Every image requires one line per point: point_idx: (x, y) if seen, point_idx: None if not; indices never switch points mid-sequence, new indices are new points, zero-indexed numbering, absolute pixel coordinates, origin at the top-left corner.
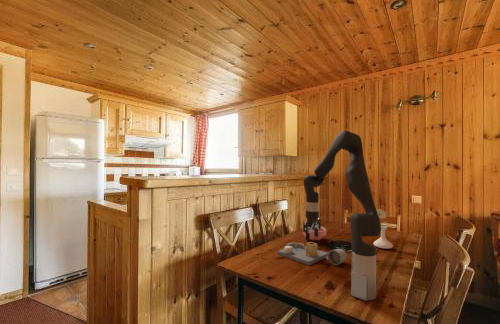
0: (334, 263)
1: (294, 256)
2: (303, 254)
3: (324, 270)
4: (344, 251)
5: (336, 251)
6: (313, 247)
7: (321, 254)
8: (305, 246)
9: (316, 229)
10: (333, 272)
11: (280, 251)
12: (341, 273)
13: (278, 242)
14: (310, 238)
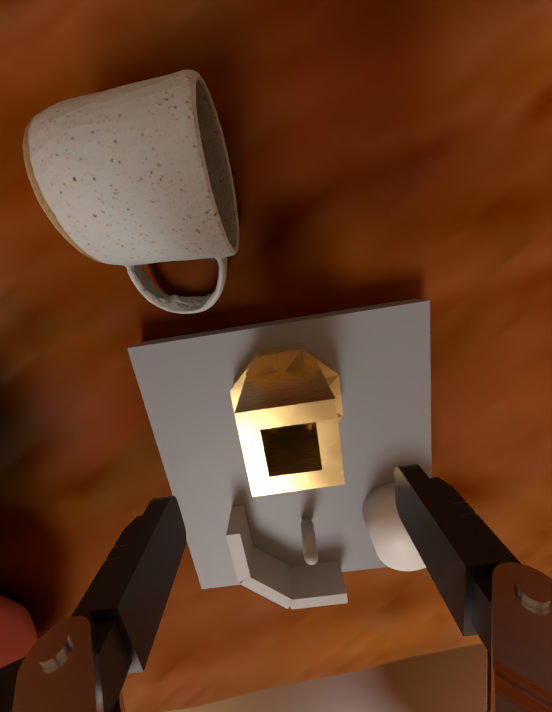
0: (217, 206)
1: (426, 434)
2: None
3: (396, 160)
4: (42, 115)
5: (192, 107)
6: (315, 388)
7: (208, 357)
8: (190, 533)
9: (107, 666)
10: (371, 83)
11: None
12: (332, 21)
13: (259, 665)
14: (30, 623)
